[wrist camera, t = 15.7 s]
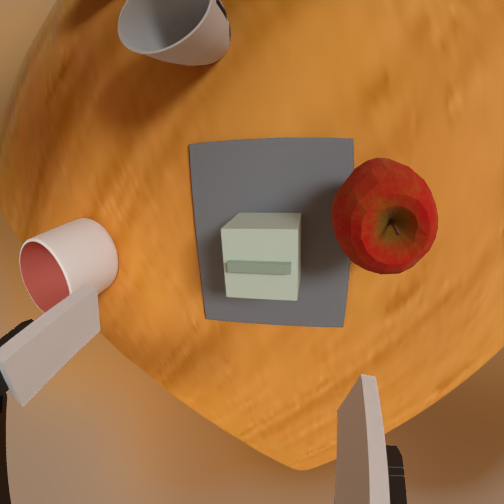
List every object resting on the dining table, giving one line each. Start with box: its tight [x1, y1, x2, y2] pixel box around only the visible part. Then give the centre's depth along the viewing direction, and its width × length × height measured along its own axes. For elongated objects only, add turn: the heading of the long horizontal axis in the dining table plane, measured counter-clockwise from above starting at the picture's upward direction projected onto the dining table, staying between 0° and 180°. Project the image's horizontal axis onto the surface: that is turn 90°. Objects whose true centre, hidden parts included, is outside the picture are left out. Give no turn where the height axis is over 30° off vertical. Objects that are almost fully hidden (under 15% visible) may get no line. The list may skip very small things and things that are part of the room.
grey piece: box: [189, 138, 354, 327], centre depth 27 cm, size 20×16×5 cm
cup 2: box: [118, 0, 231, 66], centre depth 20 cm, size 8×8×10 cm
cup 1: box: [19, 218, 118, 313], centre depth 31 cm, size 10×10×10 cm
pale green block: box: [221, 213, 301, 301], centre depth 26 cm, size 6×6×7 cm
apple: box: [331, 158, 438, 274], centre depth 22 cm, size 9×8×11 cm
